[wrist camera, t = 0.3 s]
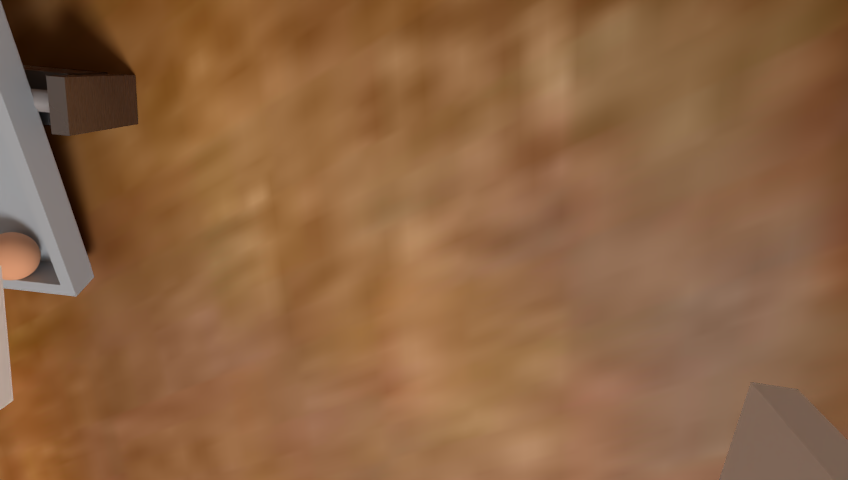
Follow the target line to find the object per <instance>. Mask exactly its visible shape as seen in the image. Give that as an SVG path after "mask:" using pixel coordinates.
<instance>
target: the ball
mask: <svg viewBox="0 0 848 480" xmlns="http://www.w3.org/2000/svg"><path fill="white" fill-rule="evenodd" d="M40 260H41V252H40V249H39V246H38V245H37V243H36V242H35V241H34V240H33V239H32V238H30V237H29V236H27V235H25V234H22V233H17V232H6V233H2V234H0V266H1V268H2V279H3V280H19V279H22V278H25V277H27V276H29V275H30V274H32V273H33V272H34V271H35V270H36V268H37V267H38V265H39V263H40Z"/></svg>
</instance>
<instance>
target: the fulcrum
mask: <svg viewBox="0 0 848 480" xmlns="http://www.w3.org/2000/svg"><path fill="white" fill-rule="evenodd" d="M23 67H24V70H25V73H26V76H27V79H28V82H29V85H30V88H31V89H40V90H47V91H48V102H49V112H50V113H49V112H39V114H40V117H41V120H42V123H43V125H51V132H52V134H56V135H67V136H71V135H77V134H83V133H89V132H94V131H100V130H106V129H112V128H117V127H123V126H129V125H135V124H138V114H137V97H136V79H135V75H128V74H108V73H106V72H94V71H83V70H72V69H61V68H50V67H39V66H28V65H23Z"/></svg>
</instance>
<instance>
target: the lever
mask: <svg viewBox="0 0 848 480" xmlns="http://www.w3.org/2000/svg"><path fill="white" fill-rule="evenodd" d="M39 112H49V102H48V91H47V90H40V89H31V88H30V85H29V82H28V79H27V76H26V73H25V70H24V67H23V64H22V61H21V58H20V55H19V52H18V49H17V46H16V44H15V41H14V38H13V35H12V32H11V29H10V26H9V23H8V20H7V17H6V14H5V11H4V8H3V5H2V2H1V0H0V234H2V233H6V232H17V233H22V234H25V235H27V236H29V237H30V238H32V239H33V240H34V241H35V242H36V243H37V245H38V246H39V249H40V252H41V260H40V263H39V265H38V267H37V268H36V270H35V271H34V272H33V273H32V274H30V275H29V276H27V277H25V278H22V279H19V280H3V288H8V289H16V290H25V291H34V292H42V293H51V294H60V295H68V296H77V295H78V294H79V293H80V292H81V291H82V290H83V289H84V288H85V287H86V285H87V284H88V283H89V282H90V281H91V280H92V279H93V278H94V275H93V272H92V269H91V264H90V261H89V258H88V255H87V252H86V250H85V247H84V244H83V241H82V238H81V235H80V232H79V229H78V226H77V223H76V220H75V217H74V214H73V211H72V208H71V205H70V202H69V199H68V197H67V194H66V191H65V188H64V185H63V182H62V179H61V176H60V173H59V170H58V167H57V164H56V161H55V158H54V155H53V152H52V149H51V147H50V144H49V141H48V138H47V135H46V132H45V129H44V126H43V123H42V120H41V117H40V114H39ZM49 113H50V112H49Z"/></svg>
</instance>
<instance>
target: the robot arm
mask: <svg viewBox="0 0 848 480" xmlns="http://www.w3.org/2000/svg"><path fill="white" fill-rule="evenodd" d="M12 401H13V391H12V380H11V369H10V358H9V347H8V335H7V324H6V313H5V302H4V291H3V279H2V268H1V266H0V410H1V409H2V408H4V407H5V406H6V405H8V404H9V403H11V402H12ZM719 480H848V440H847V439H846V438H845V437H844V436H843V435H842V434H841V433H840V432H839V431H838V430H837V429H836V428H835V427H834V426H833V425H832V424H831V423H830V422H829V421H828V420H827V419H826V418H825V417H824V416H823V415H822V414H821V413H820V412H819V411H818V410H817V408H816V407H815V406H814V405H813V404H812V403H811V402H810V401H809V400H808V399H807V398H806V397H805V396H804V395H803V394H802V393H801V392H800V391H799V390H798V389H792V388H786V387H779V386H773V385H767V384H760V383H754V382H751V384H750V387H749V390H748V393H747V396H746V399H745V402H744V405H743V408H742V411H741V414H740V417H739V420H738V424H737V427H736V430H735V433H734V436H733V439H732V442H731V445H730V448H729V451H728V454H727V457H726V460H725V463H724V467H723V470H722V473H721V476H720V479H719Z"/></svg>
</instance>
